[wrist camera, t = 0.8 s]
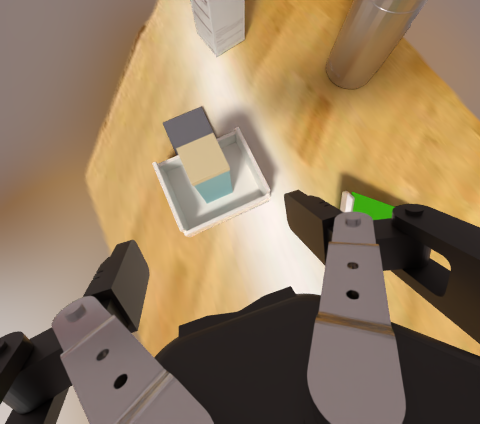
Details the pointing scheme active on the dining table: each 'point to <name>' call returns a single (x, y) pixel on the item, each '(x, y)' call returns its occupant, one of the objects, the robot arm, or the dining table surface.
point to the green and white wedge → (365, 206)
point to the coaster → (187, 128)
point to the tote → (218, 211)
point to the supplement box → (220, 23)
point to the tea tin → (206, 167)
